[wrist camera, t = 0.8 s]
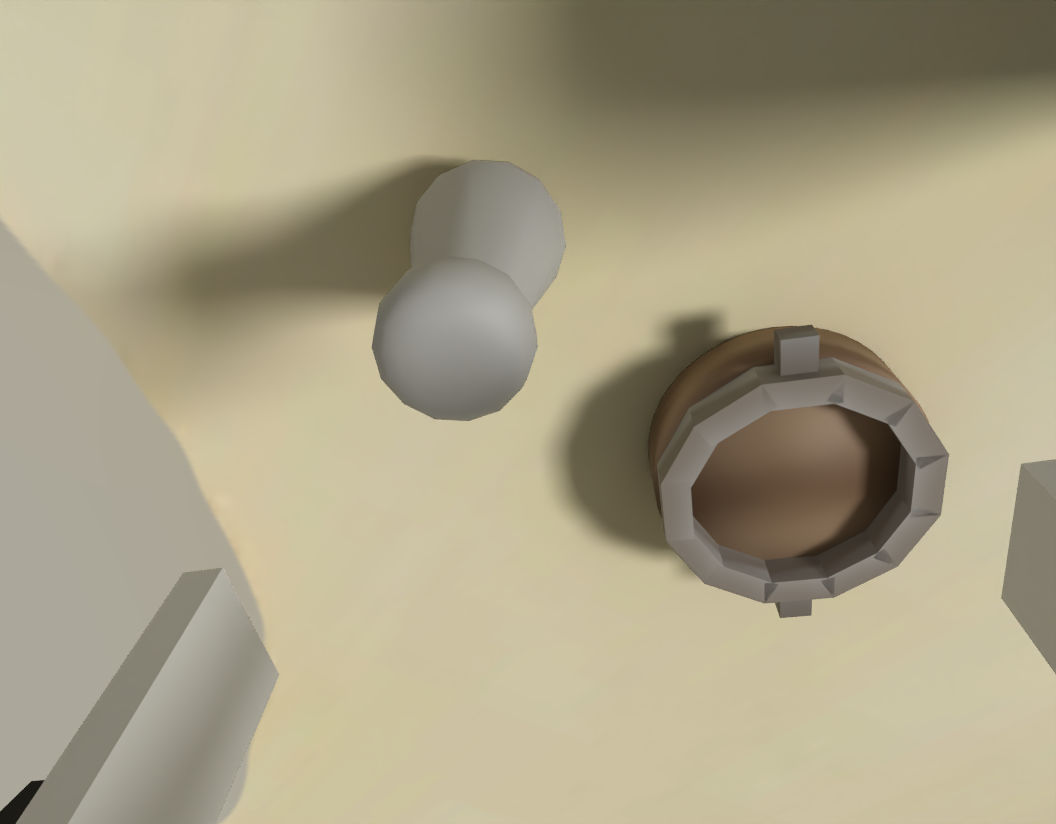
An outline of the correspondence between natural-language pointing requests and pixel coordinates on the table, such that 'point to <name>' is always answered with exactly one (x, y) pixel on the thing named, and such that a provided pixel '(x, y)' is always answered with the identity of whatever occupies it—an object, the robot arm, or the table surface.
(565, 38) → the table surface
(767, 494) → the brown bowl with handles
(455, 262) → the salt shaker
